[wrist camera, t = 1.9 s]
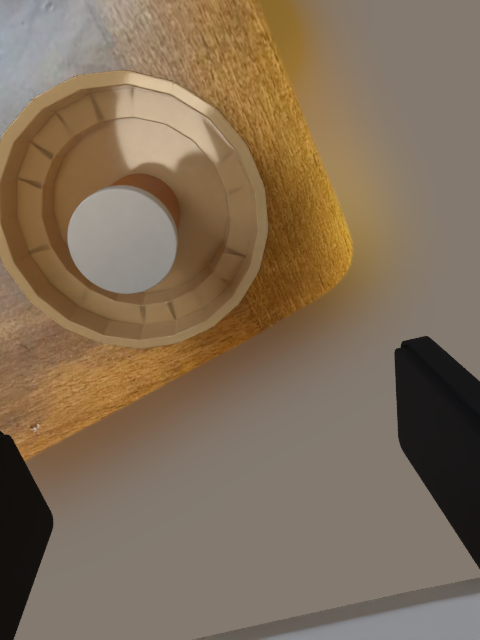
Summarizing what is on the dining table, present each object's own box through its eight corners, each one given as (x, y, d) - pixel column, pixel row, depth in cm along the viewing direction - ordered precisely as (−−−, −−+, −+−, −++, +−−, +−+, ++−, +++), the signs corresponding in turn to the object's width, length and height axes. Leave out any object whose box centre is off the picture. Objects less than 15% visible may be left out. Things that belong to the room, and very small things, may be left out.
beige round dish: (193, 35, 23) (193, 12, 19) (288, 261, 29) (305, 285, 25) (-28, 151, 25) (-78, 156, 20) (105, 346, 30) (89, 384, 26)
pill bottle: (158, 157, 25) (143, 168, 18) (195, 230, 27) (195, 267, 20) (87, 193, 26) (44, 218, 18) (128, 263, 28) (104, 310, 20)
